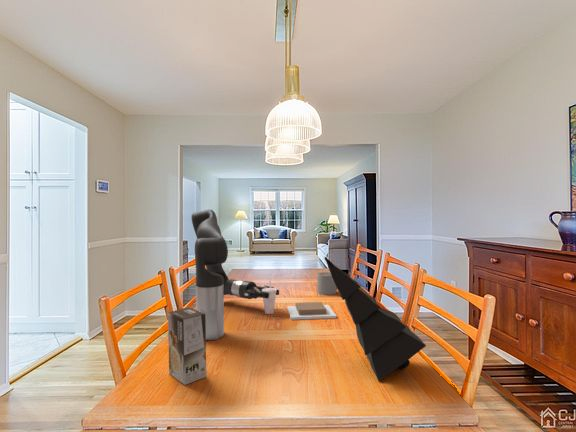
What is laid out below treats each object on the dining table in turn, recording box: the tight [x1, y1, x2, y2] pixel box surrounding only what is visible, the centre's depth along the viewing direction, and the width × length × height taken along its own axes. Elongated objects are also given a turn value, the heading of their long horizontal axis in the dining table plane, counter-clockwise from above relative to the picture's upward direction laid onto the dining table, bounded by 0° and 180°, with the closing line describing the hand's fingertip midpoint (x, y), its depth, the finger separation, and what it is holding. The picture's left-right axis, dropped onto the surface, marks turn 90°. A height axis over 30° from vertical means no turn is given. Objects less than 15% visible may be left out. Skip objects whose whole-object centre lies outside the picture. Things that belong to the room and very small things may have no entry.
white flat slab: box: [286, 301, 337, 321], centre depth 138 cm, size 16×18×3 cm
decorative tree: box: [324, 256, 427, 382], centre depth 88 cm, size 15×15×35 cm
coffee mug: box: [316, 271, 338, 296], centre depth 173 cm, size 13×10×10 cm
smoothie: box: [262, 278, 278, 315], centre depth 139 cm, size 6×6×14 cm
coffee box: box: [167, 307, 207, 386], centre depth 85 cm, size 9×6×16 cm
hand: (273, 294), depth 138 cm, fingers closed on smoothie, 6 cm apart
